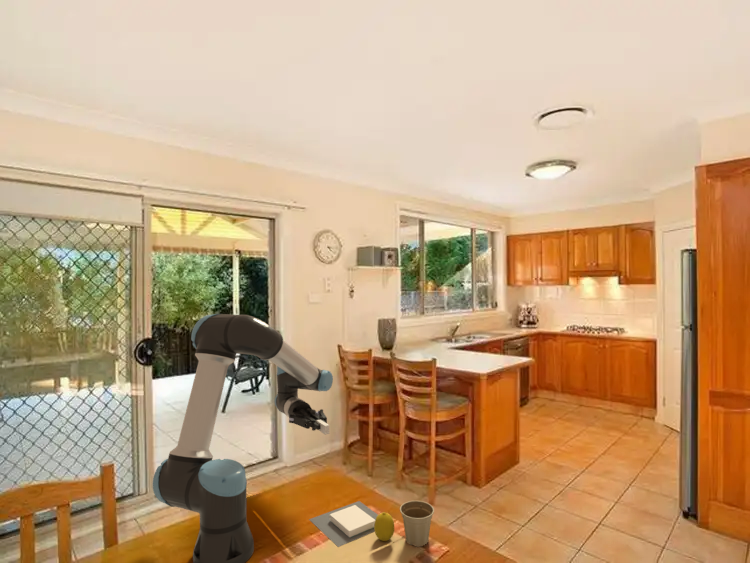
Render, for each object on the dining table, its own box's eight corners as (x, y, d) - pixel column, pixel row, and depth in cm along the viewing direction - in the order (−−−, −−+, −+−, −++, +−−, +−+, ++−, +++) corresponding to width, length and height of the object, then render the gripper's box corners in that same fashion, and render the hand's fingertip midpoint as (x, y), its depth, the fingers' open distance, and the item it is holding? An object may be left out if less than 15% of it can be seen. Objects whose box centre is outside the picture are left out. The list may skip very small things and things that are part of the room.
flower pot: (441, 540, 120) (441, 509, 120) (419, 555, 113) (418, 522, 113) (415, 526, 127) (415, 497, 127) (393, 540, 120) (392, 509, 120)
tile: (329, 521, 129) (349, 538, 120) (329, 514, 129) (349, 531, 120) (355, 511, 134) (375, 527, 125) (355, 504, 134) (375, 520, 125)
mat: (338, 549, 116) (338, 546, 116) (309, 521, 130) (309, 519, 130) (391, 526, 127) (391, 524, 127) (359, 502, 141) (359, 500, 141)
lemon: (392, 548, 116) (392, 518, 116) (372, 546, 117) (372, 516, 117) (396, 536, 122) (395, 508, 122) (376, 534, 123) (376, 506, 123)
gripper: (314, 417, 160) (345, 437, 140) (280, 423, 153) (307, 445, 133) (314, 397, 160) (345, 414, 140) (280, 402, 153) (308, 421, 133)
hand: (327, 429), depth 137 cm, fingers closed
